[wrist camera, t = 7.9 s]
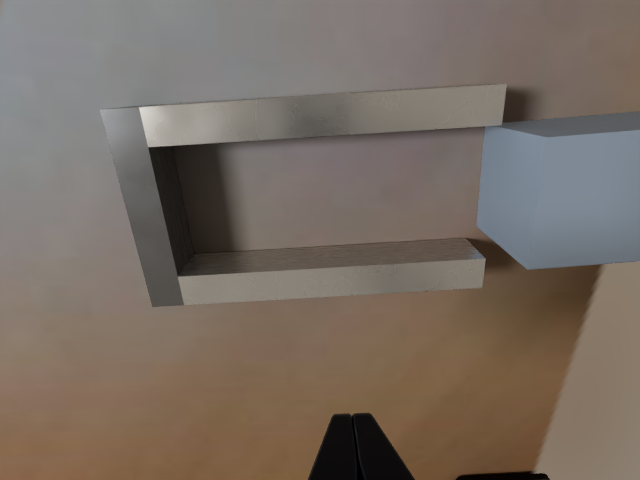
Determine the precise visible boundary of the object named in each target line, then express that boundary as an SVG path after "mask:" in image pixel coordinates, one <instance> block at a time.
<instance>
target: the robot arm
mask: <svg viewBox="0 0 640 480" xmlns="http://www.w3.org/2000/svg"><path fill="white" fill-rule="evenodd" d="M308 480H415V479H414V477H413V476H412V474H411V473H410V471H409V470H408V468H407V467H406V465H405V464H404V462H403V461H402V459H401V458H400V456H399V455H398V453H397V452H396V450H395V449H394V447H393V446H392V444H391V443H390V441H389V440H388V438H387V437H386V435H385V434H384V432H383V431H382V429H381V428H380V426H379V425H378V423H377V422H376V420H375V419H374V417H373V416H372V415H371V414H370V413H355V414H353V415H352V416H351V415H350V414H334V415H333V416H332V418H331V420H330V423H329V426H328V428H327V431H326V433H325V436H324V439H323V441H322V444H321V447H320V449H319V452H318V454H317V457H316V460H315V462H314V465H313V467H312V470H311V473H310V475H309V478H308ZM456 480H550V479H549V478H548V476H547V475H546V474H542V473H540V474H521V475H502V476H483V477H464V478H458V479H456Z"/></svg>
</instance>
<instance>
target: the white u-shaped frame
mask: <svg viewBox="0 0 640 480" xmlns="http://www.w3.org/2000/svg"><path fill="white" fill-rule="evenodd" d="M506 87H507V84H478V85H462V86H447V87H431V88H415V89H399V90H384V91H368V92H352V93H336V94H321V95H305V96H289V97H273V98H258V99H242V100H226V101H210V102H195V103H179V104H163V105H147V106H132V107H121V108H112V109H102V110H100V112H101V116H102V120H103V123H104V127H105V131H106V135H107V138H108V142H109V146H110V150H111V153H112V157H113V161H114V165H115V168H116V172H117V176H118V179H119V183H120V187H121V191H122V194H123V198H124V202H125V206H126V209H127V213H128V217H129V221H130V224H131V228H132V232H133V236H134V239H135V243H136V247H137V251H138V254H139V258H140V262H141V266H142V269H143V273H144V277H145V281H146V284H147V288H148V292H149V296H150V299H151V303H152V307H159V306H176V305H194V304H211V303H228V302H245V301H262V300H280V299H297V298H314V297H331V296H348V295H366V294H383V293H400V292H417V291H435V290H452V289H469V288H482V286H483V277H484V269H485V261H486V258H485V257H484V256H483V255H482V254H481V253H480V252H479V251H478V250H477V249H476V248H475V247H474V246H473V245H472V244H471V243H470V242H469V241H468V240H467V239H466V238H457V239H440V240H423V241H407V242H390V243H373V244H356V245H339V246H322V247H306V248H289V249H272V250H255V251H238V252H221V253H205V254H194V251H193V246H192V241H191V237H190V232H189V227H188V222H187V217H186V212H185V207H184V202H183V197H182V193H181V188H180V183H179V178H178V173H177V168H176V163H175V158H174V154H173V149H172V146H176V145H192V144H208V143H224V142H240V141H256V140H272V139H288V138H304V137H320V136H336V135H352V134H368V133H384V132H400V131H417V130H433V129H449V128H465V127H481V126H497V125H502V120H503V112H504V104H505V95H506Z"/></svg>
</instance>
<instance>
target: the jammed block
mask: <svg viewBox="0 0 640 480" xmlns="http://www.w3.org/2000/svg"><path fill="white" fill-rule="evenodd" d="M477 227H478V228H479V229H480V230H481V231H483V232H484V233H485V234H486V235H487V236H488V237H490V238H491V239H492V240H493V241H494V242H495V243H497V244H498V245H499V246H500V247H501V248H502V249H504V250H505V251H506V252H507V253H508V254H509V255H511V256H512V257H513V258H514V259H515V260H516V261H518V262H519V263H520V264H521V265H522V266H523V267H525V268H526V269H527V270H530V269H543V268H557V267H570V266H583V265H596V264H609V263H622V262H635V261H640V111H639V112H627V113H615V114H603V115H591V116H579V117H567V118H554V119H542V120H530V121H518V122H506V123H502V125H497V126H485V133H484V145H483V156H482V168H481V180H480V191H479V203H478V215H477Z"/></svg>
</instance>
